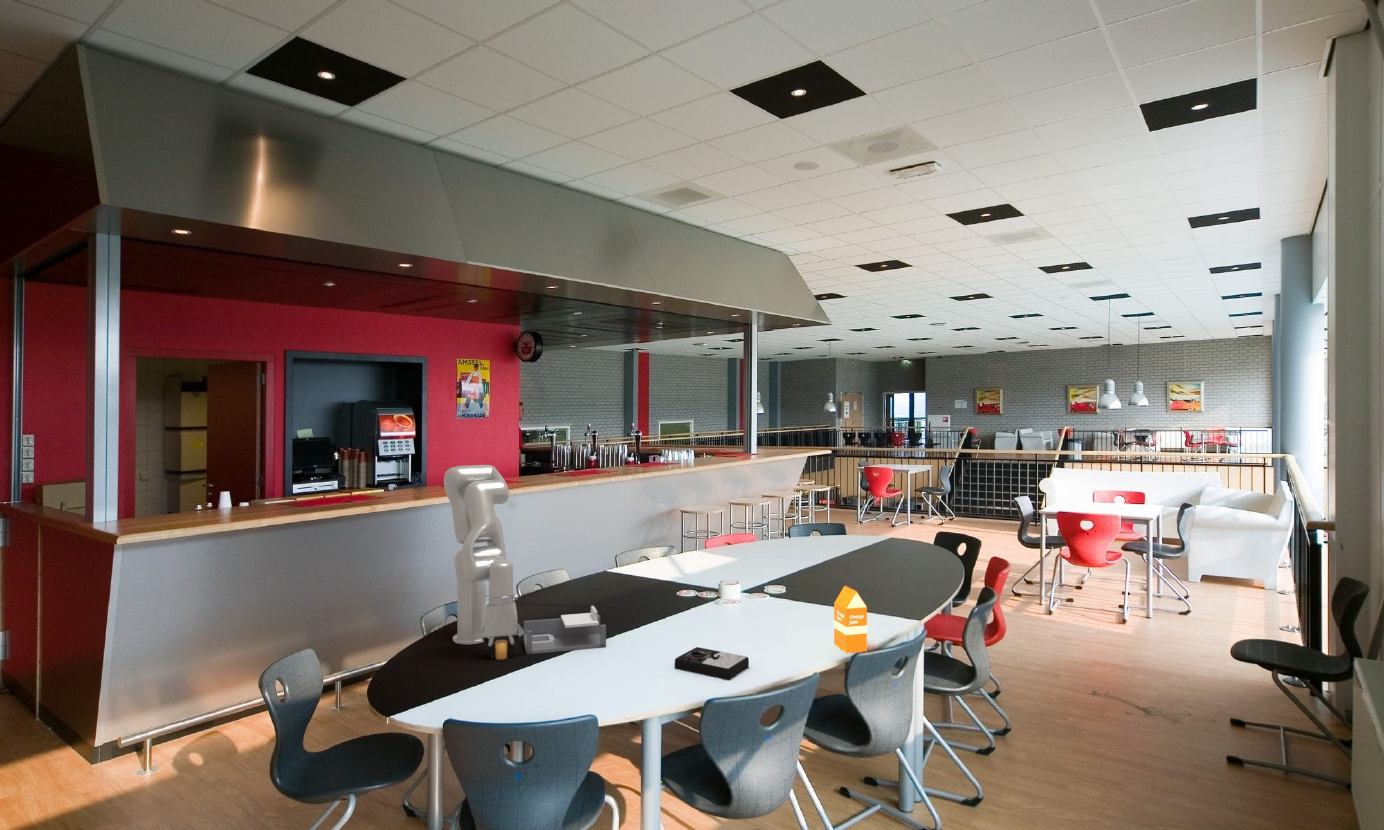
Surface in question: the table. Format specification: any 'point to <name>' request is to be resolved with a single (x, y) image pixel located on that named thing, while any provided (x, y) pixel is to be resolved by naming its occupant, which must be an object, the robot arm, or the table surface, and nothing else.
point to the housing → (561, 636)
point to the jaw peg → (501, 649)
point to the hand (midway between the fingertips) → (501, 655)
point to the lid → (580, 619)
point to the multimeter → (712, 663)
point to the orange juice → (850, 621)
